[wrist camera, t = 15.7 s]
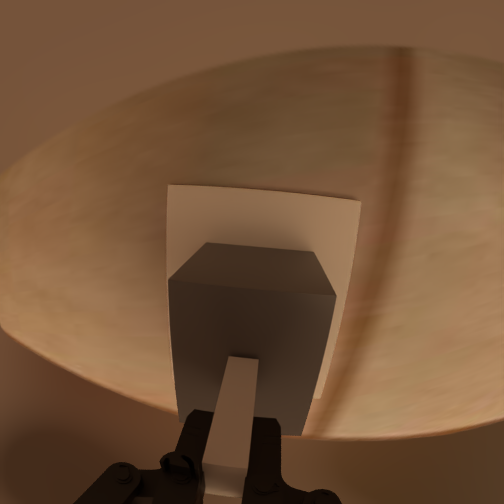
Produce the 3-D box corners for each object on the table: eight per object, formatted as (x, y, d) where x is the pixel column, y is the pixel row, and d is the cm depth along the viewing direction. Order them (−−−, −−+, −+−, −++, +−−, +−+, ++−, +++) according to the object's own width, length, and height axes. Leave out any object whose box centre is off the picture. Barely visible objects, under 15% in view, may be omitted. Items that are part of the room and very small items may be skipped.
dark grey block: (206, 242, 21) (163, 284, 12) (313, 252, 20) (339, 301, 12) (204, 355, 23) (177, 428, 15) (295, 365, 23) (301, 442, 14)
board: (173, 184, 21) (128, 188, 14) (356, 200, 20) (394, 211, 13) (176, 375, 25) (152, 426, 18) (318, 390, 25) (327, 445, 18)
